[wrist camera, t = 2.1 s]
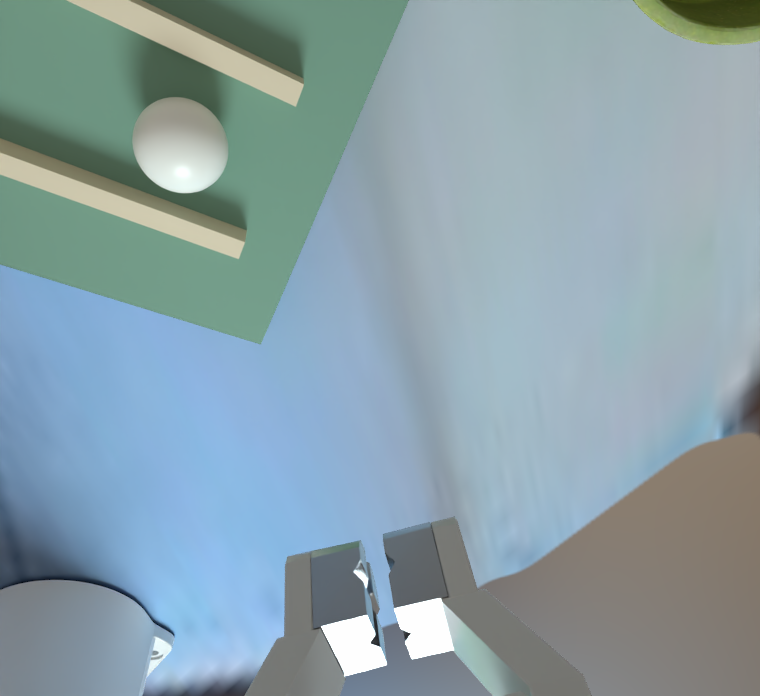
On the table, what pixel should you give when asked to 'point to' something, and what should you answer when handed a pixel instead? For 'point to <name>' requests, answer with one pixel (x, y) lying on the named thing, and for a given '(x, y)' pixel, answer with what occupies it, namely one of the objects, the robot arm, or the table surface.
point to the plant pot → (707, 19)
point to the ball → (180, 145)
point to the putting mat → (126, 178)
